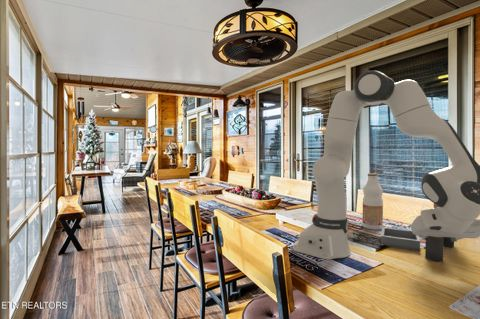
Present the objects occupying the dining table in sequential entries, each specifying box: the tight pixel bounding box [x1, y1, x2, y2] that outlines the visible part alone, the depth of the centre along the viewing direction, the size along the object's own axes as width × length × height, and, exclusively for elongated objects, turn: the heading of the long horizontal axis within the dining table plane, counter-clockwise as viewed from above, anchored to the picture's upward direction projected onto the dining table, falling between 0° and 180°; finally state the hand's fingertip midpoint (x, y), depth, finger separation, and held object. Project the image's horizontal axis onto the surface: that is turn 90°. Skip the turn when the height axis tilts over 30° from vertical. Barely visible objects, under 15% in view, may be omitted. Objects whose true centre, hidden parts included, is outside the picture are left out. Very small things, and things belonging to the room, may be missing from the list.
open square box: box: [380, 226, 421, 252], centre depth 119 cm, size 14×14×4 cm
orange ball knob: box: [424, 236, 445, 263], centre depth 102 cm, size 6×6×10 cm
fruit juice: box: [362, 172, 384, 231], centre depth 141 cm, size 9×9×28 cm
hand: (438, 238), depth 100 cm, fingers open, 8 cm apart
